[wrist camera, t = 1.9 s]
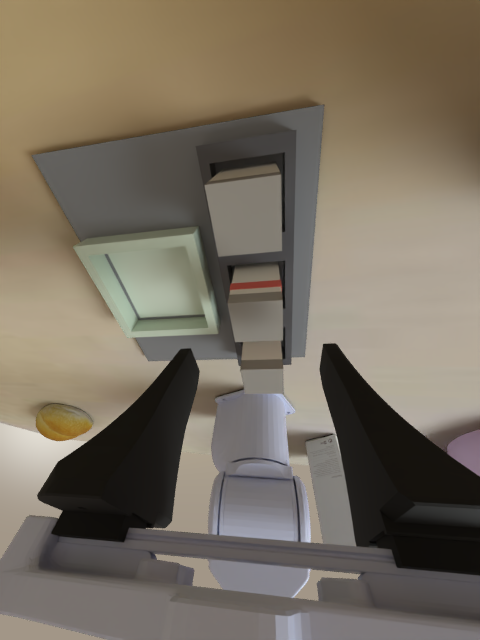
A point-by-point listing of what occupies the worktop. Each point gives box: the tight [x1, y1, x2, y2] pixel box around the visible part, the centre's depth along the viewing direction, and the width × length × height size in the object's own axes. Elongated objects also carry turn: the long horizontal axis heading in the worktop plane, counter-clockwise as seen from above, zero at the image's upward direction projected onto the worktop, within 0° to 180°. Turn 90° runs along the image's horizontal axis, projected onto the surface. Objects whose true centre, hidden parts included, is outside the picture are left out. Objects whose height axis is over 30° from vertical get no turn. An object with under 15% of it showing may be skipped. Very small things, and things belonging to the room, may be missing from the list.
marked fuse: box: [228, 261, 283, 342], centre depth 17 cm, size 4×4×6 cm
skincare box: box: [305, 435, 356, 546], centre depth 35 cm, size 8×6×15 cm
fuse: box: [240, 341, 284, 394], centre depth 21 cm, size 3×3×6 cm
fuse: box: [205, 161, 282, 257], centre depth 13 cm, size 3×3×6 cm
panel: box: [32, 105, 324, 366], centre depth 20 cm, size 19×21×3 cm
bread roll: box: [36, 404, 93, 441], centre depth 40 cm, size 8×9×4 cm
